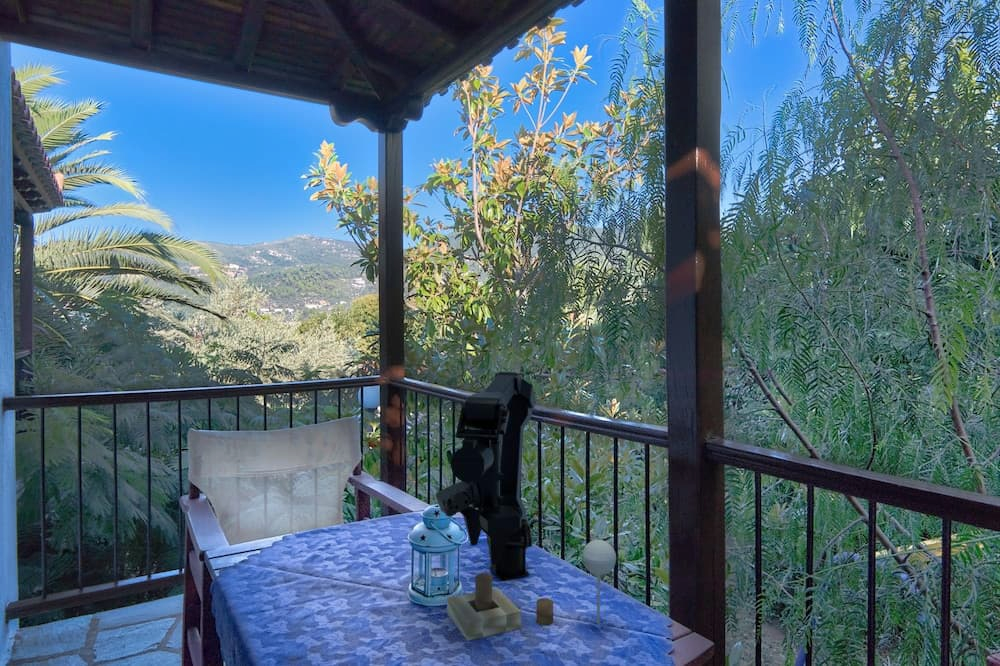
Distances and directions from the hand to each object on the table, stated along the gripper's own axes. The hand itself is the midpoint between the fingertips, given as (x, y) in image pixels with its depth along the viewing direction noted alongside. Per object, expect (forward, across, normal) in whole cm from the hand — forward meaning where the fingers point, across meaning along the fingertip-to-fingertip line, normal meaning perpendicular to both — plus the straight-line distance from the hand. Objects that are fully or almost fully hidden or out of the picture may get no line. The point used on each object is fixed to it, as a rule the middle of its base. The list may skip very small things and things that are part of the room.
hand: (483, 554), depth 109 cm
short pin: (+12, +5, +10) cm, 16 cm away
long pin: (+12, 0, 0) cm, 12 cm away
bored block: (+12, 0, 0) cm, 12 cm away
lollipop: (+12, +10, +18) cm, 24 cm away
